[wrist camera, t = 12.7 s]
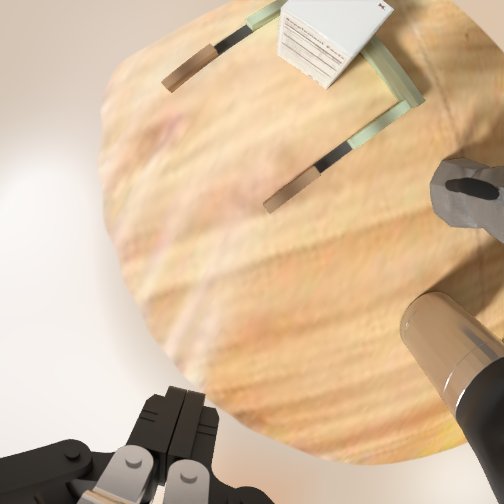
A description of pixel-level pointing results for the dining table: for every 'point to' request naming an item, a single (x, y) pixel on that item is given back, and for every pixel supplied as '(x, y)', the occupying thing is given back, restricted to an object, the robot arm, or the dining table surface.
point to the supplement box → (327, 34)
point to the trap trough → (407, 99)
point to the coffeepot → (469, 195)
